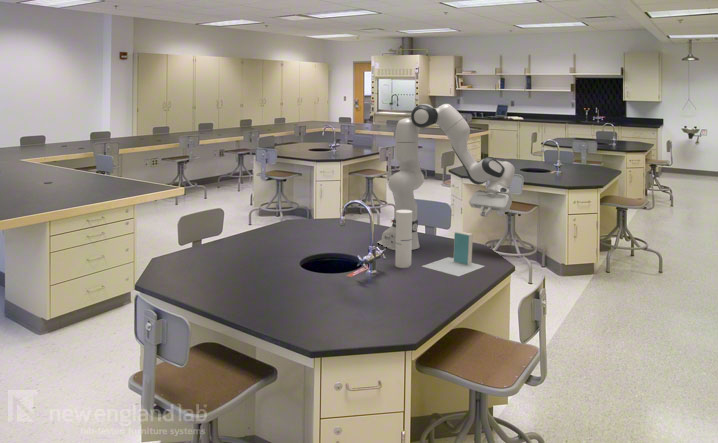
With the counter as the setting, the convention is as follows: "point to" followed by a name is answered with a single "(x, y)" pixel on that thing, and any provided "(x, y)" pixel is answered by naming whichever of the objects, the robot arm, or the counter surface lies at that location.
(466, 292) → the counter surface
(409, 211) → the cylindrical container
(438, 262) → the mat
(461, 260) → the tile
